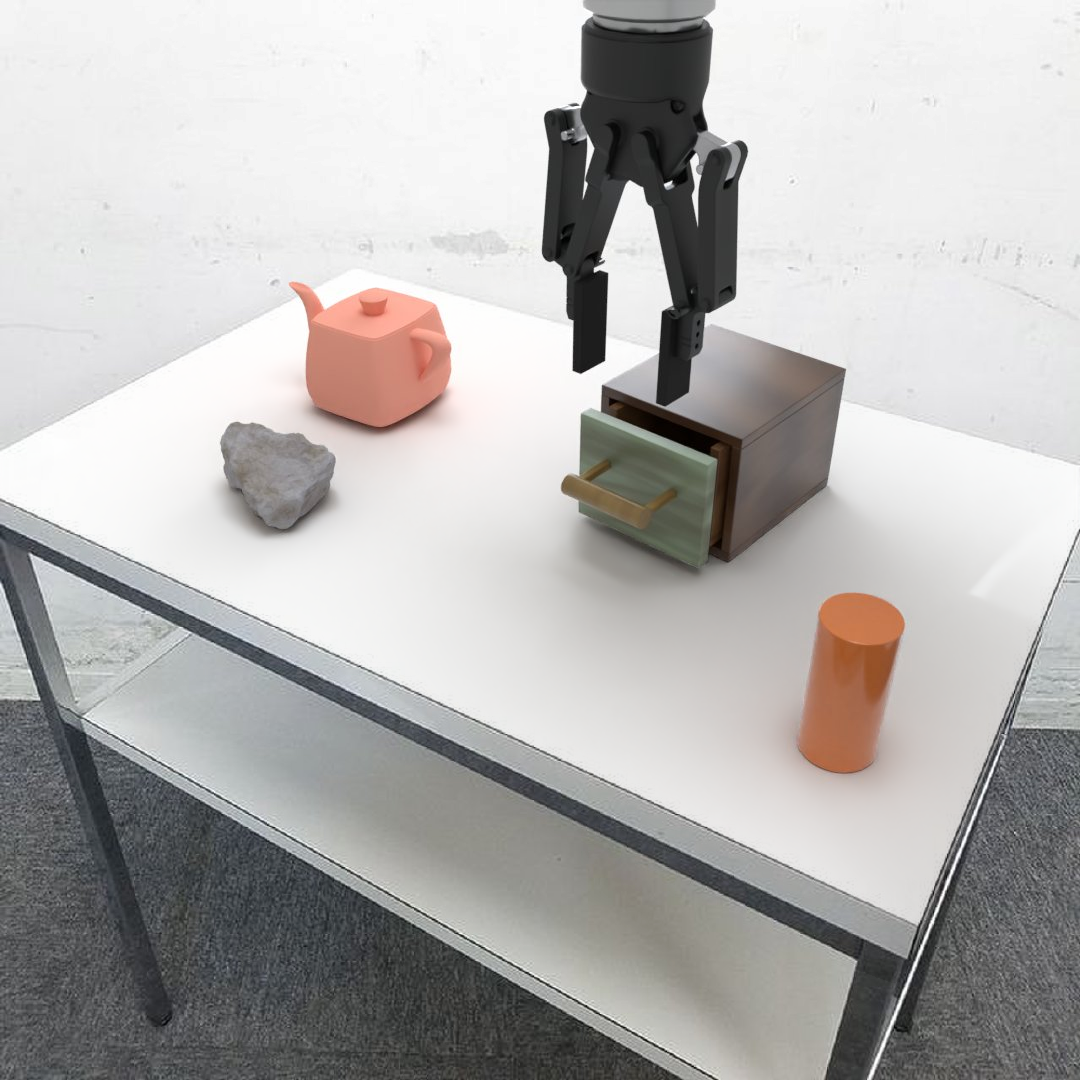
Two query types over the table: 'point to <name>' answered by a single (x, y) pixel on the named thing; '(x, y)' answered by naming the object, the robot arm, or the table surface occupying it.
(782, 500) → the cabinet
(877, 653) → the canister
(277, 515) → the stone
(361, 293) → the teapot
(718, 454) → the drawer
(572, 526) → the table surface
